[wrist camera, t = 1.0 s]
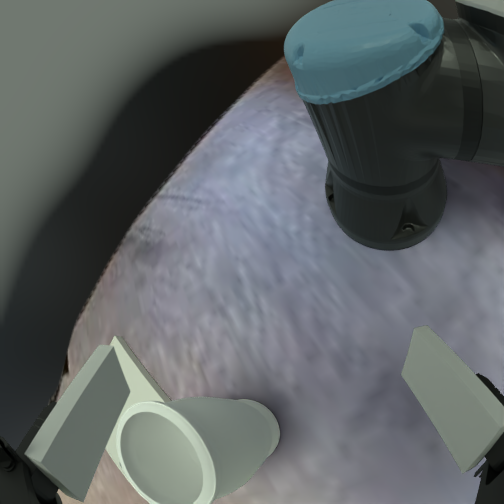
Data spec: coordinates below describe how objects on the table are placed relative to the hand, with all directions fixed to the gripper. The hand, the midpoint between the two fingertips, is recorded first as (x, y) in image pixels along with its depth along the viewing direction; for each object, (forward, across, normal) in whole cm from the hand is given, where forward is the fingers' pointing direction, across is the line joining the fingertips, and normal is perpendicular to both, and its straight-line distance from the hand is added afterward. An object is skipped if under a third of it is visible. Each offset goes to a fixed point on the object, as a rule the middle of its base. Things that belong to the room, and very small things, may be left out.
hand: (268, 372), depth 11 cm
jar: (+12, -2, -20) cm, 23 cm away
